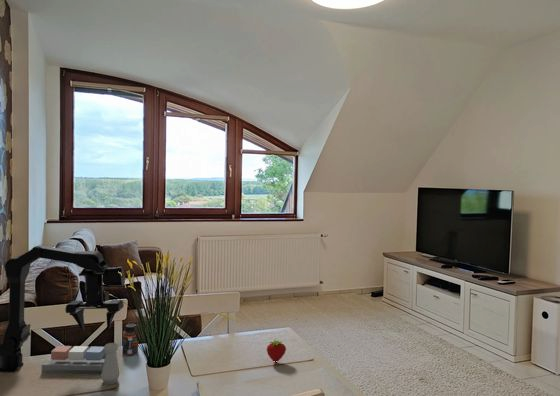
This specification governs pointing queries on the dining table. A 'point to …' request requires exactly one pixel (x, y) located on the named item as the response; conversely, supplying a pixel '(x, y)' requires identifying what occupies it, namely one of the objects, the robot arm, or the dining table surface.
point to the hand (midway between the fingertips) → (95, 329)
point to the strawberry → (276, 350)
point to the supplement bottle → (129, 341)
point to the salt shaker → (110, 364)
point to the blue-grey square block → (95, 353)
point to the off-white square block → (77, 353)
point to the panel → (74, 366)
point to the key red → (60, 352)
